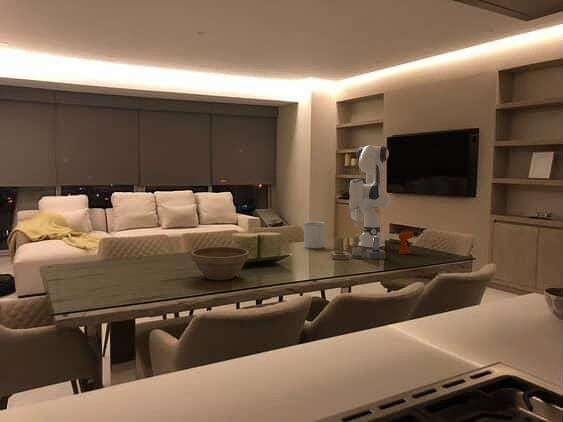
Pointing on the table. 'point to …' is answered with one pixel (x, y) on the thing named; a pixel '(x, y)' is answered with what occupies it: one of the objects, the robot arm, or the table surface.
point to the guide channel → (356, 257)
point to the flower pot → (219, 261)
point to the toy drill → (406, 241)
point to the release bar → (356, 252)
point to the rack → (339, 255)
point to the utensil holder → (314, 234)
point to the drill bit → (376, 244)
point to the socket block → (376, 254)
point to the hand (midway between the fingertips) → (356, 227)
